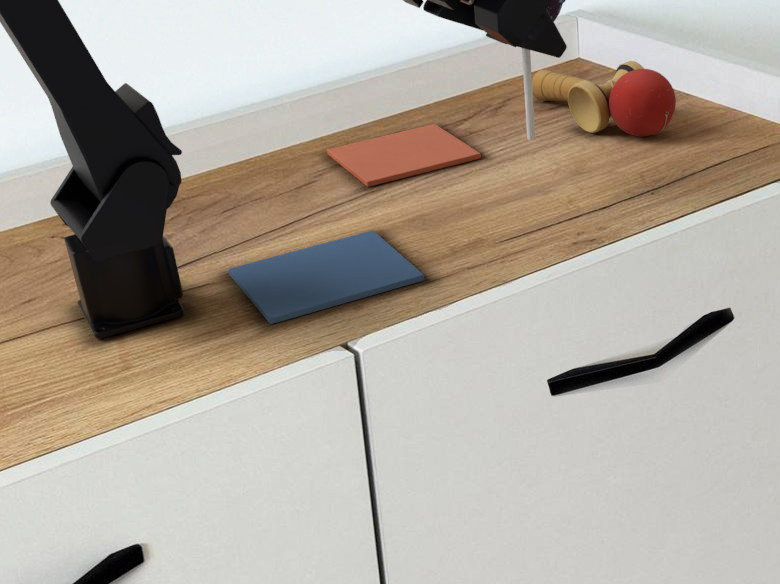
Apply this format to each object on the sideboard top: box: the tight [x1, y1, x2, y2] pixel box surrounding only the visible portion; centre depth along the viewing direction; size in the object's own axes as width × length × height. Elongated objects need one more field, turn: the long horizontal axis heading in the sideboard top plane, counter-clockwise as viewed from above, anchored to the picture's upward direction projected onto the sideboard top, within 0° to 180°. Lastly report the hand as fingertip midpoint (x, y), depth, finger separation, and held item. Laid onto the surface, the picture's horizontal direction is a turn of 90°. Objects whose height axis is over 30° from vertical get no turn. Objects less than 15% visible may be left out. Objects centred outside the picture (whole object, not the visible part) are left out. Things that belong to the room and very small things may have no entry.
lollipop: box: [521, 0, 566, 141], centre depth 105 cm, size 7×7×15 cm
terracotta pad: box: [326, 123, 482, 188], centre depth 120 cm, size 11×10×1 cm
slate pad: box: [227, 229, 425, 325], centre depth 99 cm, size 12×10×1 cm
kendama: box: [532, 60, 677, 137], centre depth 124 cm, size 8×6×18 cm
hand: (540, 43), depth 105 cm, fingers closed on lollipop, 6 cm apart
